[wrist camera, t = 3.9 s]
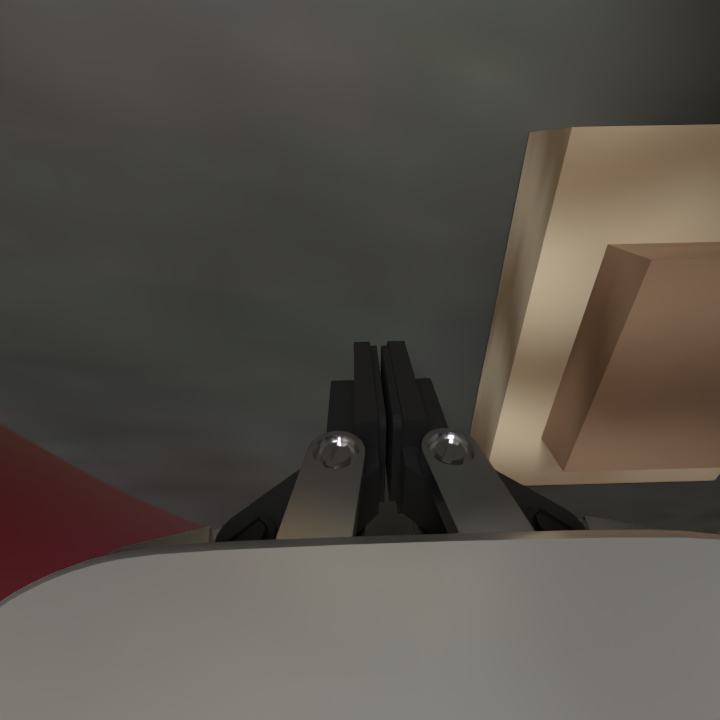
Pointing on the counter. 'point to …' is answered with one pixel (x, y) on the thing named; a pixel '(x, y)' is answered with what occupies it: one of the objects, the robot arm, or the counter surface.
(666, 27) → the counter surface
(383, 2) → the counter surface
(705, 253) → the walnut block
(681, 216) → the birch board
